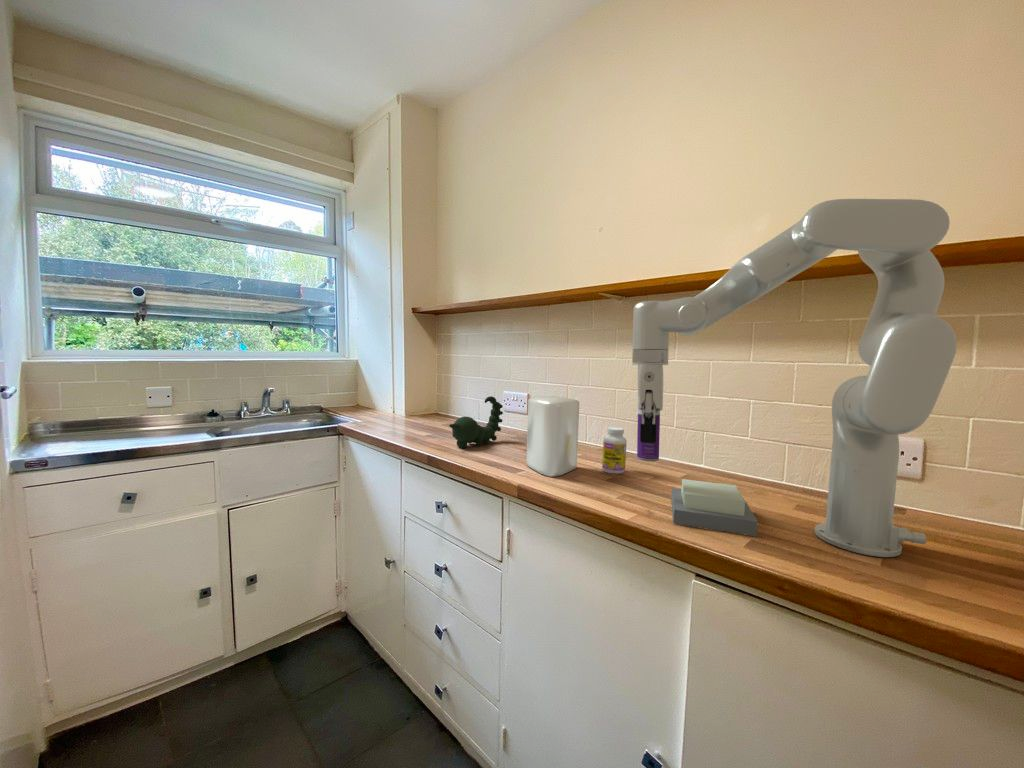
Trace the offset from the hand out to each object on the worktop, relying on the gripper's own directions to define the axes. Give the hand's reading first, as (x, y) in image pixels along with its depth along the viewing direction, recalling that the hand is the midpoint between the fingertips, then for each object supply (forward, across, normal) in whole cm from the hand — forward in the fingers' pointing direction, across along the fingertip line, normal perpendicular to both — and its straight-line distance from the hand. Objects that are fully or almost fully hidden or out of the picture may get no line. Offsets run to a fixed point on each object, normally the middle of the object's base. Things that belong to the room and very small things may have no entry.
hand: (648, 439), depth 92 cm
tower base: (+16, +1, -13) cm, 21 cm away
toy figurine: (+14, +41, +61) cm, 75 cm away
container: (+5, 0, 0) cm, 5 cm away
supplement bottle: (+16, +28, +10) cm, 34 cm away
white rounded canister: (+15, +20, +27) cm, 37 cm away
